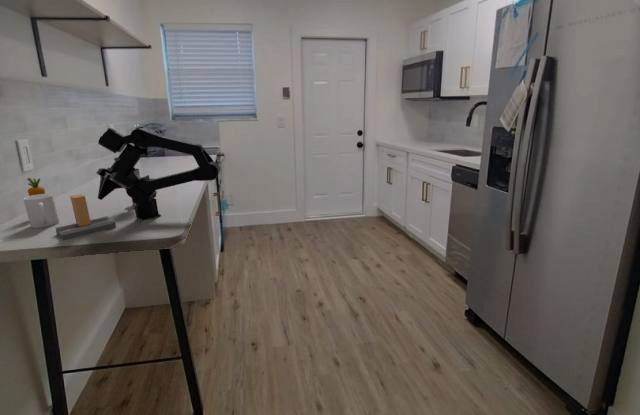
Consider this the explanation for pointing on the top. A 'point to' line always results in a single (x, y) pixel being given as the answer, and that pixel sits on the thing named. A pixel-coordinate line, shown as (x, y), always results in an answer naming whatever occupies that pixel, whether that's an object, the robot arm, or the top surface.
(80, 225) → the fader tab
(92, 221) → the rail
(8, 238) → the top surface
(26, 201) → the cup
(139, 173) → the wine glass
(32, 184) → the carrot
